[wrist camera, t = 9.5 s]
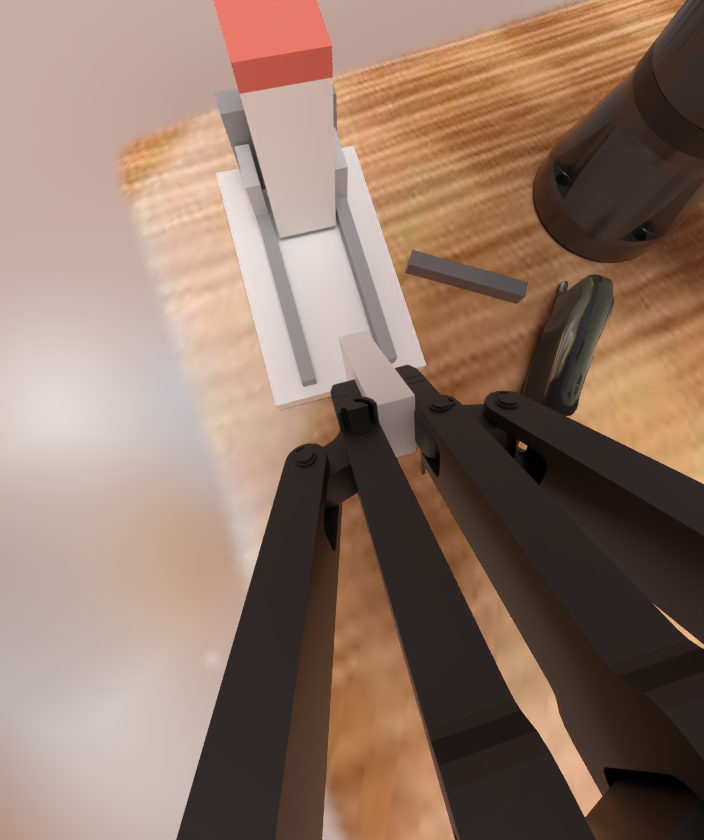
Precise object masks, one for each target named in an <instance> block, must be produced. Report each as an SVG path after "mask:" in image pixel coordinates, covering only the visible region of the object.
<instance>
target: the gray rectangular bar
mask: <svg viewBox="0 0 704 840" xmlns="http://www.w3.org/2000/svg"><path fill="white" fill-rule="evenodd" d="M406 273H409V274H412V275H416V276H419V277H423V278H427V279H430V280H434V281H437V282H441V283H445V284H448V285H452V286H455V287H459V288H462V289H466V290H470V291H473V292H477V293H480V294H484V295H488V296H491V297H495V298H498V299H502V300H505V301H509V302H513V303H516V304H517V303H518V302H519V301H520V300H522V299H523V298H524V297H525V294H526V289H527V284H528V282H524V281H521V280H517V279H514V278H510V277H507V276H503V275H500V274H496V273H492V272H489V271H485V270H482V269H478V268H475V267H471V266H467V265H464V264H460V263H457V262H453V261H450V260H446V259H442V258H439V257H435V256H432V255H428V254H425V253H421V252H417V251H414V250H412V253H411V256H410V259H409V263H408V266H407V270H406Z"/></svg>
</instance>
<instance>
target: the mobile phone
mask: <svg viewBox="0 0 704 840" xmlns="http://www.w3.org/2000/svg"><path fill="white" fill-rule="evenodd" d="M567 287H568V282H567V281H563V282H562V283H561V284H560V287H559V291H558V296H557V299H556V302H555V306H554V309H553V312H552V314H551V317H550V320H549V321H548V322H547V324H546V325H545V327H544V330H543V333H542V336H541V339H540V342H539V345H538V348H537V351H536V353H535V355H534V358H533V360H532V363H531V366H530V369H529V372H528V375H527V378H526V381H525V383H524V386H523V389H522V392H521V395H523V396H525V397H527V398H529V399H531V400H534V401H536V402H538V403H540V404H542V405H544V406H546V407H548V408H550V409H552V410H554V411H556V412H558V413H560V414H562V415H564V416H570V415H572V414H573V413H574V412H575V410H576V409H577V406H578V401H579V397H580V393H581V390H582V387H583V384H584V381H585V378H586V375H587V372H588V370H589V367H590V363H591V360H592V357H593V354H594V350H595V347H596V344H597V341H598V339H599V338H600V336H601V334H602V332H603V329H604V327H605V325H606V323H607V321H608V320H609V318H610V315H611V312H612V309H613V304H614V299H613V283H612V281H611V280H609V279H607V278H605V277H603V276H600V275H589V276H587V277H586V278H584V279H583V280H581V281H580V282H578V283H577V284H576V285H574V286H573V287H572V288H570V289H569V290H568V291H567Z"/></svg>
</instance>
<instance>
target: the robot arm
mask: <svg viewBox="0 0 704 840" xmlns="http://www.w3.org/2000/svg"><path fill="white" fill-rule="evenodd" d="M534 200H535V205H536V209H537V212H538V214H539V216H540V219H541V220H542V222H543V224H544V226H545V227H546V228H547V230H548V231H549V232H550V234H551V235H552V236H553V237H554V238H555V239H556V240H557V241H558V242H560V243H561V244H562V245H563V246H565V247H566V248H568V249H569V250H571V251H572V252H574V253H576V254H578V255H581V256H583V257H586V258H589V259H592V260H597V261H603V262H619V261H625V260H629V259H632V258H635V257H637V256H639V255H641V254H643V253H644V252H646V251H647V250H649V249H650V248H652V247H653V246H655V245H656V244H658V243H659V242H661V241H662V240H664V239H665V238H667V237H668V236H669V235H670V234H671V233H673V232H674V231H675V230H676V229H677V228H678V227H679V226H680V225H681V224H682V223H683V222H684V221H685V220H686V218H687V217H688V216H689V215H690V214H691V213H692V212H693V211H694V210H695V209H696V208H697V207H698V206H699V205H700V204H701V203H702V202H703V201H704V0H686V1H685V2H684V4H683V5H682V6H681V7H680V9H679V10H678V11H677V13H676V14H675V15H674V17H673V18H672V19H671V21H670V22H669V23H668V25H667V26H666V27H665V28H664V30H663V31H662V32H661V34H660V35H659V36H658V38H657V39H656V40H655V42H654V43H653V44H652V46H651V47H650V48H649V50H648V51H647V52H646V54H645V55H644V56H643V58H642V59H641V60H640V61H639V63H638V64H637V65H636V67H635V68H634V69H633V70H632V72H631V73H630V74H629V75H628V76H627V77H626V78H625V79H624V80H623V81H622V82H621V83H619V84H618V85H617V86H616V87H615V88H614V89H613V90H612V91H611V92H610V93H609V94H608V95H607V96H605V97H604V98H603V99H602V100H601V101H600V102H599V103H598V104H597V105H596V106H595V107H594V108H593V109H591V110H590V111H589V112H588V113H587V114H586V115H585V116H584V117H583V118H582V119H581V120H580V121H579V122H577V123H576V124H575V125H574V126H573V127H572V128H571V129H570V130H569V131H568V132H567V133H566V134H565V135H564V136H563V137H562V138H561V139H560V140H559V141H558V142H557V144H556V145H555V146H554V148H553V149H552V151H551V152H550V154H549V155H548V157H547V158H546V159H545V161H544V162H543V164H542V165H541V167H540V169H539V171H538V173H537V175H536V179H535V183H534ZM338 338H339V343H340V348H341V353H342V357H343V362H344V367H345V372H346V377H347V381H346V382H342V383H338V384H334V385H333V386H332V389H331V391H330V393H331V397H332V401H333V405H334V409H335V412H336V416H337V420H338V423H339V427H340V431H339V434H338V436H337V437H336V438H335V439H334V440H333V441H332V442H330V443H329V444H327V445H326V446H324V447H322V446H320V445H318V444H305V445H301V446H299V447H297V448H296V449H294V450H293V451H292V452H291V453H290V454H289V455H288V457H287V459H286V461H285V465H284V468H283V472H282V475H281V478H280V482H279V485H278V489H277V492H276V496H275V499H274V503H273V506H272V510H271V513H270V517H269V520H268V524H267V527H266V531H265V534H264V537H263V541H262V544H261V548H260V551H259V555H258V558H257V562H256V565H255V569H254V572H253V576H252V579H251V583H250V586H249V589H248V593H247V596H246V600H245V603H244V607H243V611H242V614H241V618H240V621H239V624H238V628H237V631H236V635H235V638H234V642H233V645H232V649H231V652H230V655H229V659H228V662H227V666H226V669H225V673H224V676H223V680H222V683H221V687H220V690H219V694H218V697H217V701H216V704H215V708H214V711H213V714H212V718H211V721H210V725H209V728H208V732H207V735H206V739H205V742H204V746H203V749H202V753H201V756H200V760H199V763H198V766H197V770H196V773H195V777H194V780H193V784H192V787H191V791H190V795H189V798H188V801H187V805H186V808H185V812H184V815H183V819H182V822H181V825H180V829H179V833H178V836H177V839H176V840H322V831H323V815H324V798H325V782H326V765H327V749H328V732H329V716H330V699H331V683H332V666H333V650H334V633H335V617H336V600H337V584H338V567H339V550H340V534H341V517H342V502H343V501H345V500H346V499H348V498H349V497H351V496H353V495H354V494H356V493H357V492H358V496H359V499H360V503H361V506H362V510H363V513H364V517H365V520H366V524H367V527H368V531H369V535H370V538H371V542H372V545H373V549H374V552H375V556H376V559H377V563H378V566H379V570H380V574H381V577H382V581H383V584H384V588H385V591H386V595H387V598H388V602H389V605H390V609H391V612H392V616H393V620H394V623H395V627H396V630H397V634H398V637H399V641H400V644H401V648H402V651H403V655H404V659H405V662H406V666H407V669H408V673H409V676H410V680H411V683H412V687H413V690H414V694H415V698H416V701H417V705H418V708H419V712H420V715H421V719H422V722H423V726H424V729H425V733H426V737H427V740H428V744H429V748H430V751H431V755H432V759H433V762H434V766H435V770H436V773H437V777H438V780H439V784H440V788H441V791H442V795H443V798H444V802H445V805H446V809H447V812H448V816H449V820H450V823H451V827H452V830H453V834H454V837H455V840H704V649H703V648H701V647H699V646H698V645H696V644H695V643H693V642H692V641H690V640H689V639H688V638H686V637H685V636H684V635H683V634H682V633H681V632H680V631H679V630H678V629H677V628H676V627H675V626H674V625H673V624H672V623H671V622H670V621H669V620H668V619H667V618H666V617H665V616H664V615H663V614H662V613H661V612H660V611H659V610H658V609H657V608H656V607H655V605H656V606H657V607H658V608H659V609H661V610H662V611H663V612H664V613H666V614H667V615H668V616H669V617H671V618H672V619H673V620H674V621H676V622H677V623H678V624H679V625H680V626H682V627H683V628H684V629H685V630H687V631H688V632H689V633H690V634H692V635H693V636H694V637H695V638H697V639H698V640H699V641H700V642H702V643H703V644H704V484H702V483H700V482H698V481H696V480H694V479H692V478H690V477H688V476H686V475H684V474H682V473H680V472H678V471H676V470H674V469H672V468H670V467H668V466H666V465H664V464H662V463H660V462H657V461H655V460H653V459H651V458H649V457H647V456H645V455H643V454H641V453H639V452H637V451H635V450H633V449H631V448H629V447H627V446H625V445H623V444H621V443H619V442H617V441H615V440H613V439H611V438H609V437H607V436H605V435H603V434H601V433H599V432H597V431H594V430H592V429H590V428H588V427H586V426H584V425H582V424H580V423H578V422H576V421H574V420H572V419H570V418H568V417H566V416H564V415H562V414H560V413H558V412H556V411H554V410H552V409H550V408H548V407H546V406H544V405H542V404H540V403H538V402H536V401H534V400H531V399H529V398H527V397H525V396H523V395H521V394H518V393H516V392H511V391H496V392H493V393H490V394H489V395H488V396H486V399H485V402H484V404H479V405H462V404H461V403H460V402H459V401H458V400H456V399H455V398H453V397H450V396H447V395H440V394H439V392H438V391H437V390H436V389H435V388H434V387H433V386H432V385H431V384H430V382H429V381H428V380H426V378H425V377H424V376H423V375H422V374H421V372H420V371H419V370H418V369H417V368H415V367H412V366H410V365H404V366H400V367H397V368H394V367H393V366H392V364H391V363H390V362H389V360H388V359H387V358H386V356H385V355H384V354H383V352H382V351H381V350H380V348H379V347H378V346H377V344H376V343H375V342H374V340H373V339H372V338H371V336H370V335H369V334H368V332H367V331H366V330H365V331H361V332H357V333H353V334H349V335H345V336H341V337H338ZM519 441H521V442H522V443H524V444H525V445H527V446H528V447H527V449H526V450H523V449H521V448H519V447H518V444H519ZM416 443H417V444H418V446H419V448H420V449H421V472H422V475H423V474H425V468H426V469H427V471H428V473H429V474H430V476H431V478H432V480H433V481H434V483H435V485H436V487H437V488H438V490H439V492H440V494H441V495H442V497H443V499H444V501H445V502H446V504H447V506H448V508H449V509H450V511H451V513H452V515H453V516H454V518H455V520H456V522H457V523H458V525H459V527H460V529H461V530H462V532H463V534H464V535H465V537H466V539H467V541H468V542H469V544H470V546H471V548H472V549H473V551H474V553H475V555H476V556H477V558H478V560H479V562H480V563H481V565H482V567H483V569H484V570H485V572H486V574H487V576H488V577H489V579H490V581H491V583H492V584H493V586H494V588H495V590H496V591H497V593H498V595H499V596H500V598H501V600H502V602H503V603H504V605H505V607H506V609H507V610H508V612H509V614H510V616H511V617H512V619H513V621H514V623H515V624H516V626H517V628H518V630H519V631H520V633H521V635H522V637H523V638H524V640H525V642H526V644H527V645H528V647H529V649H530V651H531V652H532V654H533V656H534V657H535V659H536V661H537V663H538V664H539V666H540V668H541V670H542V671H543V673H544V675H545V677H546V678H547V680H548V682H549V684H550V686H551V688H552V690H553V692H554V694H555V697H556V700H557V704H558V709H559V713H560V716H561V718H562V721H563V723H564V726H565V728H566V730H567V732H568V734H569V736H570V738H571V740H572V742H573V744H574V745H575V747H576V749H577V751H578V753H579V754H580V756H581V758H582V760H583V762H584V763H585V765H586V767H587V769H588V771H589V772H590V774H591V776H592V778H593V780H594V781H595V783H596V785H597V787H598V789H599V790H600V792H601V794H602V796H603V797H602V798H601V799H600V800H599V801H598V803H597V804H596V805H595V806H594V807H593V809H592V810H591V811H590V812H589V814H588V815H587V816H586V817H584V815H583V813H582V811H581V809H580V807H579V805H578V803H577V801H576V799H575V798H574V796H573V794H572V792H571V790H570V788H569V786H568V784H567V782H566V780H565V778H564V776H563V774H562V773H561V771H560V769H559V767H558V765H557V763H556V762H555V760H554V758H553V756H552V754H551V752H550V751H549V749H548V748H547V746H546V744H545V743H544V741H543V740H542V738H541V736H540V735H539V733H538V732H537V730H536V729H535V728H534V726H533V725H532V724H531V723H530V721H529V720H528V719H527V718H526V716H525V715H524V714H523V713H522V711H521V710H520V708H519V707H518V705H517V703H516V702H515V700H514V698H513V697H512V695H511V693H510V691H509V689H508V687H507V685H506V683H505V681H504V679H503V677H502V675H501V673H500V670H499V668H498V666H497V664H496V662H495V660H494V658H493V656H492V654H491V652H490V650H489V648H488V646H487V644H486V642H485V640H484V637H483V635H482V633H481V631H480V629H479V627H478V625H477V623H476V621H475V619H474V617H473V615H472V613H471V611H470V609H469V607H468V604H467V602H466V600H465V598H464V596H463V594H462V592H461V590H460V588H459V586H458V584H457V582H456V580H455V578H454V576H453V573H452V571H451V569H450V567H449V565H448V563H447V561H446V559H445V557H444V555H443V553H442V551H441V549H440V547H439V545H438V543H437V540H436V538H435V536H434V534H433V532H432V530H431V528H430V526H429V524H428V522H427V520H426V518H425V516H424V514H423V512H422V510H421V507H420V505H419V503H418V501H417V499H416V497H415V495H414V493H413V491H412V489H411V487H410V485H409V483H408V481H407V479H406V477H405V474H404V472H403V470H402V468H401V466H400V464H399V462H398V460H397V458H396V457H400V456H404V455H407V454H411V453H414V452H416ZM654 604H655V605H654Z"/></svg>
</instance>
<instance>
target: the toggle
mask: <svg viewBox="0 0 704 840" xmlns="http://www.w3.org/2000/svg"><path fill="white" fill-rule="evenodd" d="M214 3H215V7H216V11H217V15H218V18H219V22H220V25H221V29H222V32H223V36H224V39H225V43H226V47H227V50H228V54H229V57H230V61H231V65H232V68H233V72H234V75H235V79H236V83H237V86H238V90H239V93H240V97H241V100H242V104H243V108H244V111H245V115H246V118H247V122H248V125H249V129H250V133H251V136H252V140H253V143H254V147H255V150H256V154H257V158H258V161H259V165H260V168H261V172H262V175H263V179H264V183H265V186H266V190H267V193H268V197H269V200H270V204H271V208H272V211H273V215H274V218H275V222H276V225H277V229H278V233H279V236H280V238H282V237H287V236H291V235H296V234H300V233H305V232H309V231H314V230H318V229H323V228H327V227H332V226H336V209H335V165H334V120H333V76H332V45H331V42H330V39H329V36H328V33H327V30H326V27H325V24H324V21H323V18H322V15H321V13H320V9H319V7H318V3H317V1H316V0H214Z"/></svg>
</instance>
